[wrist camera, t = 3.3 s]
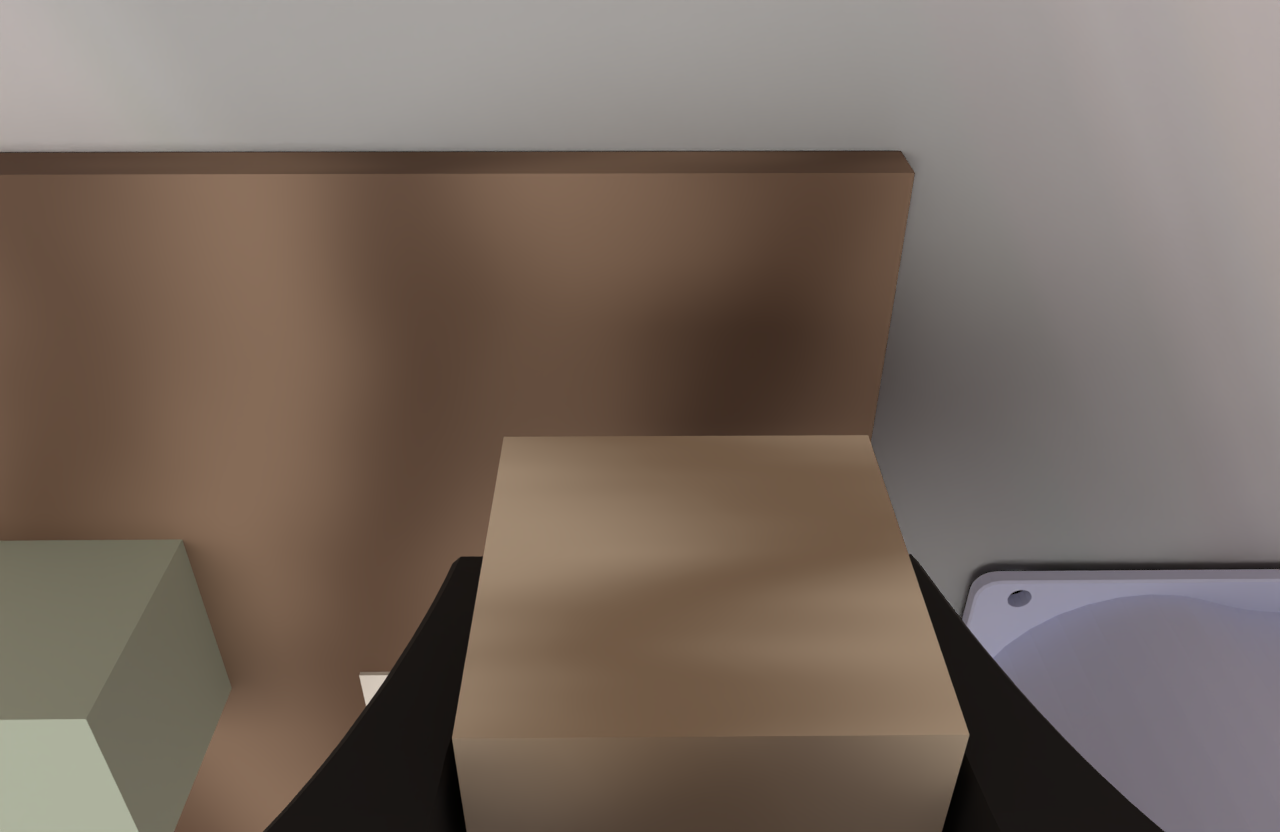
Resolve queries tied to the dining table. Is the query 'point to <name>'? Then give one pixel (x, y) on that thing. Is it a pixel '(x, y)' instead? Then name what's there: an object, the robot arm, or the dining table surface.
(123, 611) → the sage block
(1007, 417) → the dining table surface
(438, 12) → the dining table surface
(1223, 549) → the dining table surface
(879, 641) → the beech block
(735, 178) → the board
